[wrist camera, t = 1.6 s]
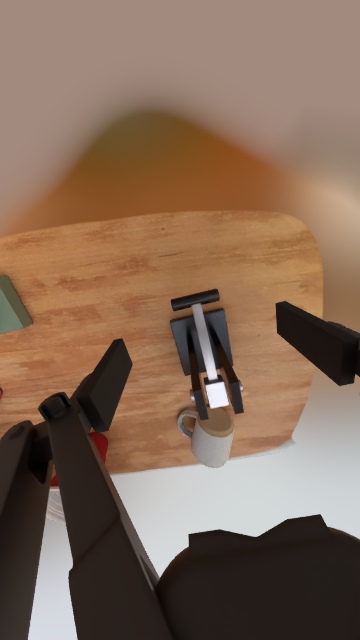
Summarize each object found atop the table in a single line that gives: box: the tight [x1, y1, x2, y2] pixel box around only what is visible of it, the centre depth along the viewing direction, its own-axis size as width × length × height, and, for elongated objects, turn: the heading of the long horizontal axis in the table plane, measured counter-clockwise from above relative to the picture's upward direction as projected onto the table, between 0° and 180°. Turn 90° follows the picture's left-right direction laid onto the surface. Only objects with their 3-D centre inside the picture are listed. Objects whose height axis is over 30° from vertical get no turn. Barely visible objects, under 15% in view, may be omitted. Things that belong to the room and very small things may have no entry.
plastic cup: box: [46, 433, 108, 524], centre depth 36 cm, size 11×11×12 cm
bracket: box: [170, 308, 244, 421], centre depth 27 cm, size 11×9×14 cm
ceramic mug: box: [177, 406, 234, 468], centre depth 36 cm, size 11×8×8 cm
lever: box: [171, 289, 229, 409], centre depth 22 cm, size 13×6×2 cm, turn 14°
